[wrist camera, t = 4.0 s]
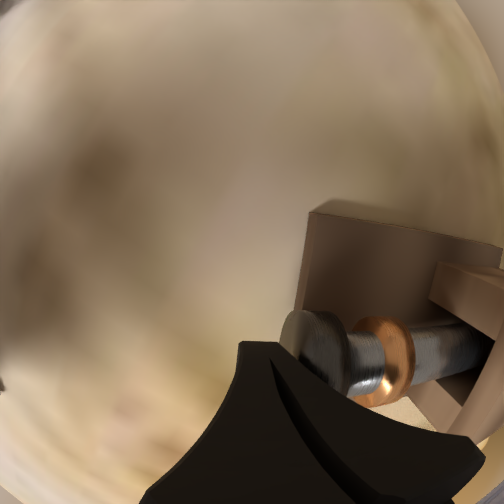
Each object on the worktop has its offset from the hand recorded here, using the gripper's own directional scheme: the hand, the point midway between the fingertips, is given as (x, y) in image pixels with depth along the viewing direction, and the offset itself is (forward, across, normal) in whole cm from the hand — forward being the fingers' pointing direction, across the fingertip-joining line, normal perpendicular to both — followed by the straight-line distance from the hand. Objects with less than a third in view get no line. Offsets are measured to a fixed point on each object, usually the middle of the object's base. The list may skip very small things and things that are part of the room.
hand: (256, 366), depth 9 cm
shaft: (+2, -7, 0) cm, 8 cm away
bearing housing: (+3, -9, 0) cm, 10 cm away
